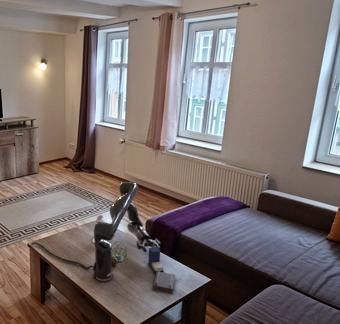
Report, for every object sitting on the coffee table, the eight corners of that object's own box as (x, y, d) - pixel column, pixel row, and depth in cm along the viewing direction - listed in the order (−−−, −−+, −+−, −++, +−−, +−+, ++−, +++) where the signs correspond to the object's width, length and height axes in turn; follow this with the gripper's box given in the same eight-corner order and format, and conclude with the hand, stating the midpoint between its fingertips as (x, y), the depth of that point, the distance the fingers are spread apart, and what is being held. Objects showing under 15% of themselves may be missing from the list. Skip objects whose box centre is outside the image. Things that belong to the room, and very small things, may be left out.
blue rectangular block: (148, 264, 200) (149, 247, 197) (156, 263, 201) (156, 246, 198) (155, 274, 190) (156, 257, 187) (163, 273, 191) (164, 256, 188)
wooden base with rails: (153, 290, 177) (153, 283, 176) (156, 276, 189) (156, 269, 188) (172, 293, 174) (172, 286, 173) (174, 279, 186) (175, 272, 185)
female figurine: (103, 250, 216) (103, 222, 210) (88, 240, 228) (87, 214, 222) (115, 244, 222) (116, 217, 217) (100, 235, 234) (100, 209, 229)
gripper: (132, 233, 212) (141, 245, 196) (153, 230, 214) (164, 243, 199) (132, 243, 214) (141, 257, 198) (153, 241, 216) (163, 254, 201)
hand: (152, 250), depth 199 cm, fingers open, 8 cm apart
